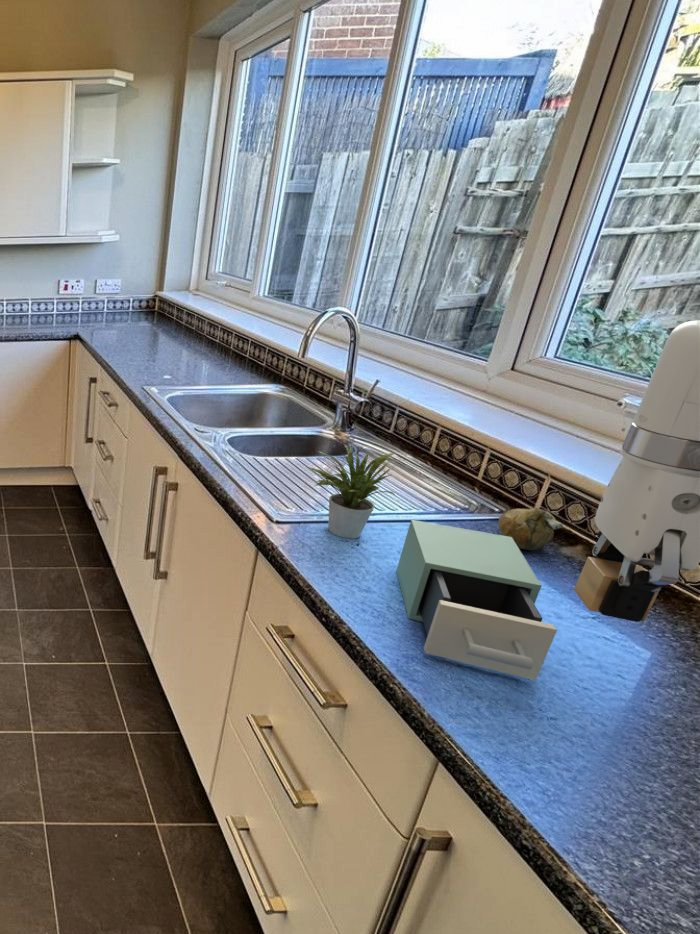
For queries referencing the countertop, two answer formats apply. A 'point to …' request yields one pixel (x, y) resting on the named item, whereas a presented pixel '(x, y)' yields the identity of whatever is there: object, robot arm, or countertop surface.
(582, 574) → the block
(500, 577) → the green drawer box
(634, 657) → the countertop surface
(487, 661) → the beige cabinet drawer
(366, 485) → the house plant
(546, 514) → the onion
